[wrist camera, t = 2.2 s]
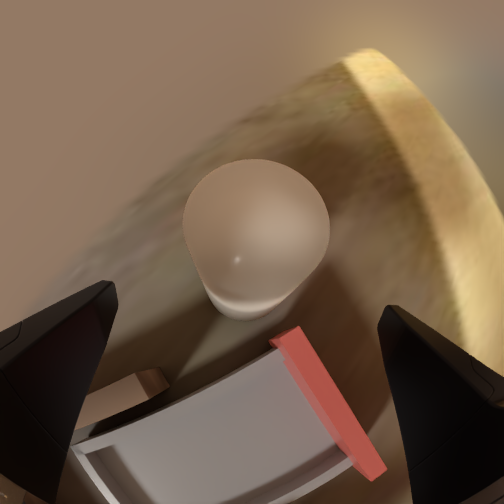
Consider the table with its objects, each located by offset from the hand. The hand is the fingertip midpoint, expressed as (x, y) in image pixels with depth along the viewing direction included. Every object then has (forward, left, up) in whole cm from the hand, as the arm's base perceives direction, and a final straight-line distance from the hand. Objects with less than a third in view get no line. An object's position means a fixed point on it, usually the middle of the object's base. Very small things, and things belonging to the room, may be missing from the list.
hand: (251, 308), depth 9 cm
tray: (-7, +6, -10) cm, 14 cm away
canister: (+3, -2, -10) cm, 11 cm away
